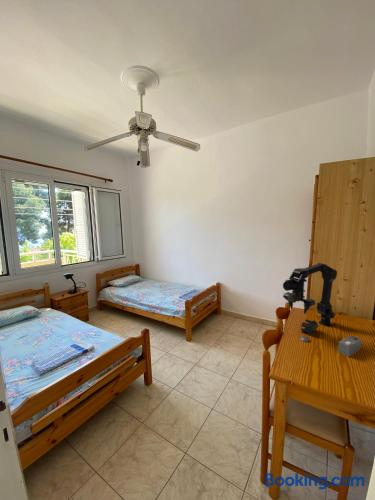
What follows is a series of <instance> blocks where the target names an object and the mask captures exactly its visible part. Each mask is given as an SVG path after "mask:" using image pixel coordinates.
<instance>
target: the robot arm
mask: <svg viewBox="0 0 375 500" xmlns="http://www.w3.org/2000/svg"><path fill="white" fill-rule="evenodd" d="M318 272H320V273H321V278H322V280H323V284H322V289H321V290H322V291H321V298H320V301H319V302H317V303H316V300H314V299H311V298H307V299H306V297H305V292H306V290H305V282H308V280H307V278H308V277H309V276H310V275H312V274H315V273H318ZM337 275H338V271H337V270H336V269H335V268H332V267H331V266H329V265H328V264H326V263H322V262H318V263H316V264H313V265H310V266H308V267H304V268H301V267H300V268H294V269H293V271H292V272H291V274H290V276H289V277H288V279H285V281H284V282H283V284H282V287H283V290H284V291H287V292H285V293H283V294H282V295H283V296H282V297H283V298H284V299H285V300H286V301H287V303H288V304H289V308H290V310H292V309H293V306H294V303H295V304H296V303H297V302H302V303H303V315H305V314H307V312H308V310H309V309H310V307H312V306H315V305H316V311H317V313H318V314H320V321H318V322H317V323H319V324H321V325H324V326H326V327H330V326H332V325H334V324H333V323H332V321H331V320H332V319H334V318H335V316H336V314H335V312H334V311H333V306H332V304H331V297H332V295H331V294H332V289H333V288H332V287H333V282H334V281H335V280H336V279H337ZM289 291H291V292H289Z"/></svg>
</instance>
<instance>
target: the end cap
mask: <svg viewBox="0 0 375 500" xmlns="http://www.w3.org/2000/svg"><path fill="white" fill-rule="evenodd" d="M300 327H301V329H300V331H301V333H302V334H304V335H306V336H307V335H308V336H310V335H312V334H314V333H315V331H316V330H317V329H318V328H319V324H318V322H317V321H316V320H309V319H305V320H304V322H302V323H301V326H300Z"/></svg>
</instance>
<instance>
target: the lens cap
mask: <svg viewBox="0 0 375 500" xmlns="http://www.w3.org/2000/svg"><path fill="white" fill-rule="evenodd" d="M299 339H300V340H301V342H304V343H309V342H311V339H310V338H309V337H308V336H305V335H304V336H303V335H301V336H300V337H299Z"/></svg>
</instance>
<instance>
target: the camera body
mask: <svg viewBox="0 0 375 500" xmlns="http://www.w3.org/2000/svg"><path fill="white" fill-rule="evenodd" d="M337 346H338V347H337V352H338V353H340V354H341V355H343V356H345V357H348V358H349V357H351V356H352V355H354V354H355V353H357V352H358V351H361V349H362V348H361V347H362V339H361V338H359V337H356V336H354V335H349V336H347V337H344V338H343V339H341V340H340V341H338V345H337Z"/></svg>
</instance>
